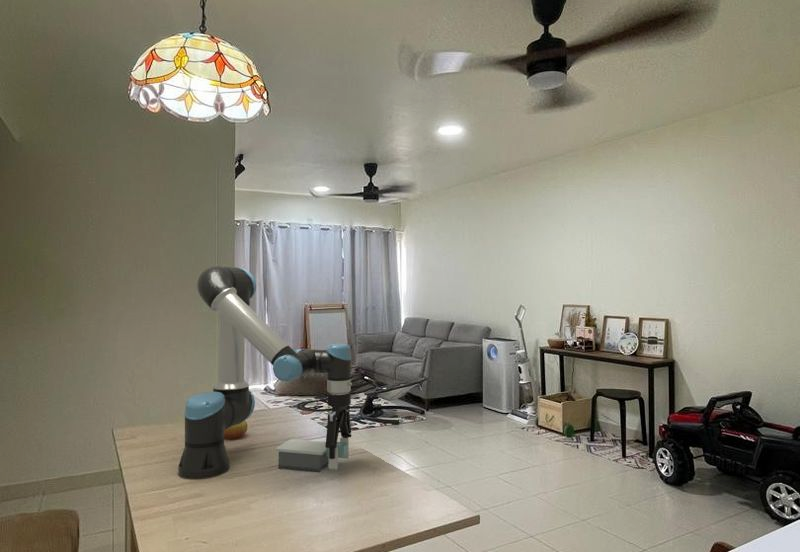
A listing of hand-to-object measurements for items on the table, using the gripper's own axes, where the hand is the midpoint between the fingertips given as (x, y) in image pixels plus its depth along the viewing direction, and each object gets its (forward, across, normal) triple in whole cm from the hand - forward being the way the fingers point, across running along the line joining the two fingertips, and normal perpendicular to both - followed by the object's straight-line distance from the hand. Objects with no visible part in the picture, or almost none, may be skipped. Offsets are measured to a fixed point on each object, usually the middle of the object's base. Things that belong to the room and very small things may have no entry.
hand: (338, 463), depth 159 cm
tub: (+2, 0, +12) cm, 12 cm away
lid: (-2, 0, +8) cm, 9 cm away
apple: (+2, +22, +51) cm, 55 cm away
